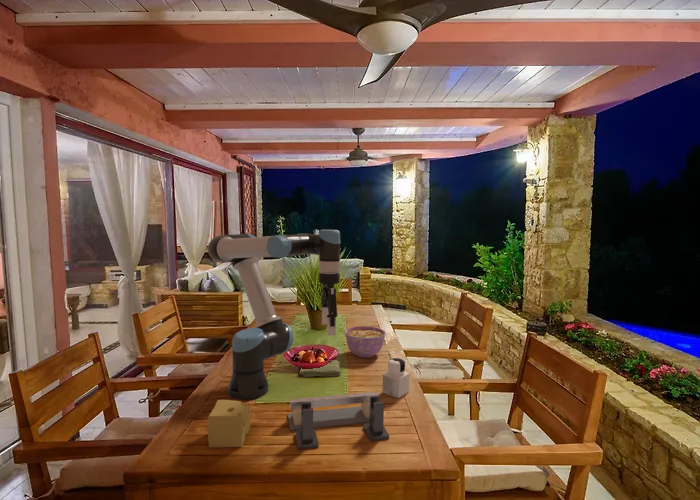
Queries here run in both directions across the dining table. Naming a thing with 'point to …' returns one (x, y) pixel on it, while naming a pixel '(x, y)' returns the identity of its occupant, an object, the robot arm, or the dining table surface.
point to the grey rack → (373, 428)
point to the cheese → (228, 424)
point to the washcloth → (323, 370)
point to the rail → (333, 400)
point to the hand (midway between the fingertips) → (328, 329)
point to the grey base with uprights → (332, 417)
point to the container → (396, 378)
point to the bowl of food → (365, 340)
